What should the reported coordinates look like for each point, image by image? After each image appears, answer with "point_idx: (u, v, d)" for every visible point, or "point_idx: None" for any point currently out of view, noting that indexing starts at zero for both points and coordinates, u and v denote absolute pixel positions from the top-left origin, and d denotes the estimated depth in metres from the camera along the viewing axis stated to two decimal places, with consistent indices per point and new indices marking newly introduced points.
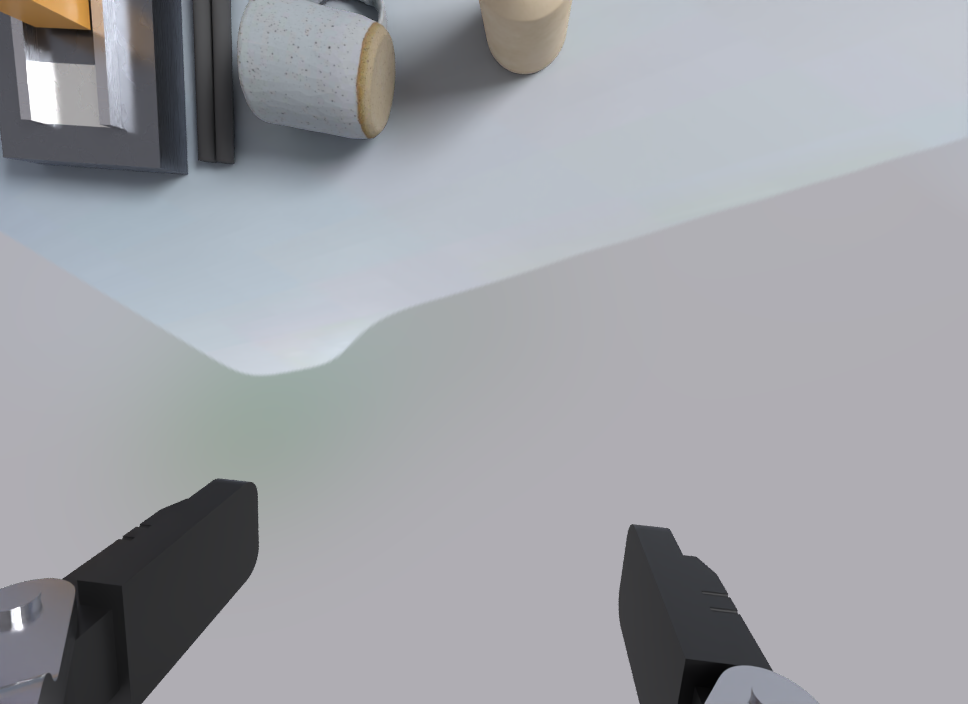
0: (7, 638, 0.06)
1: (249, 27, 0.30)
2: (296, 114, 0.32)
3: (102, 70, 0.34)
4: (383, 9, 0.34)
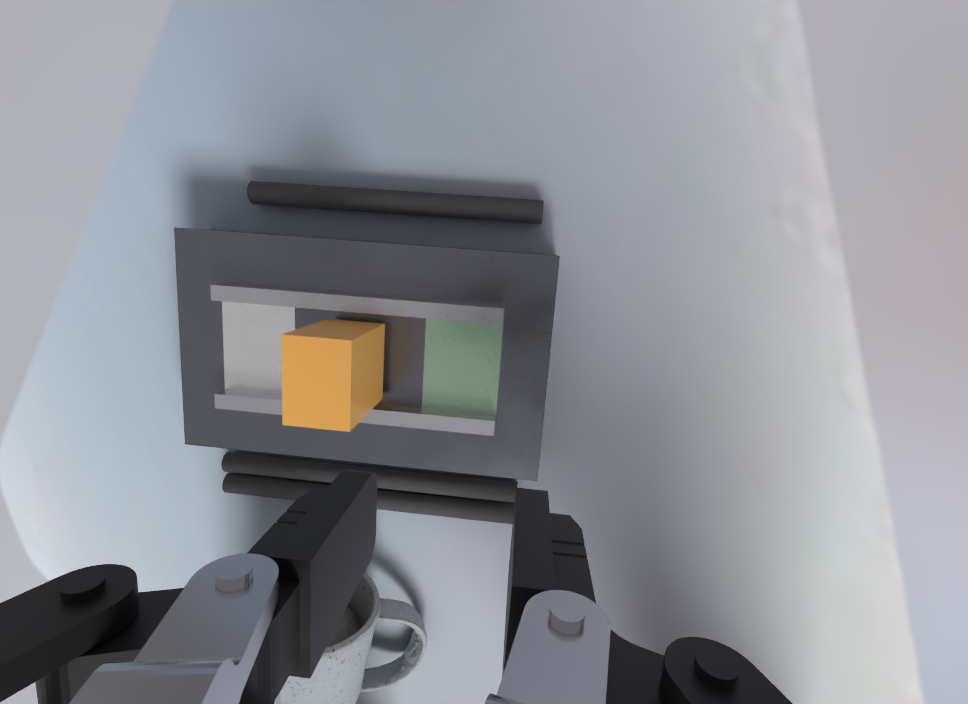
0: (220, 606, 0.07)
1: None
2: None
3: (276, 408, 0.27)
4: None
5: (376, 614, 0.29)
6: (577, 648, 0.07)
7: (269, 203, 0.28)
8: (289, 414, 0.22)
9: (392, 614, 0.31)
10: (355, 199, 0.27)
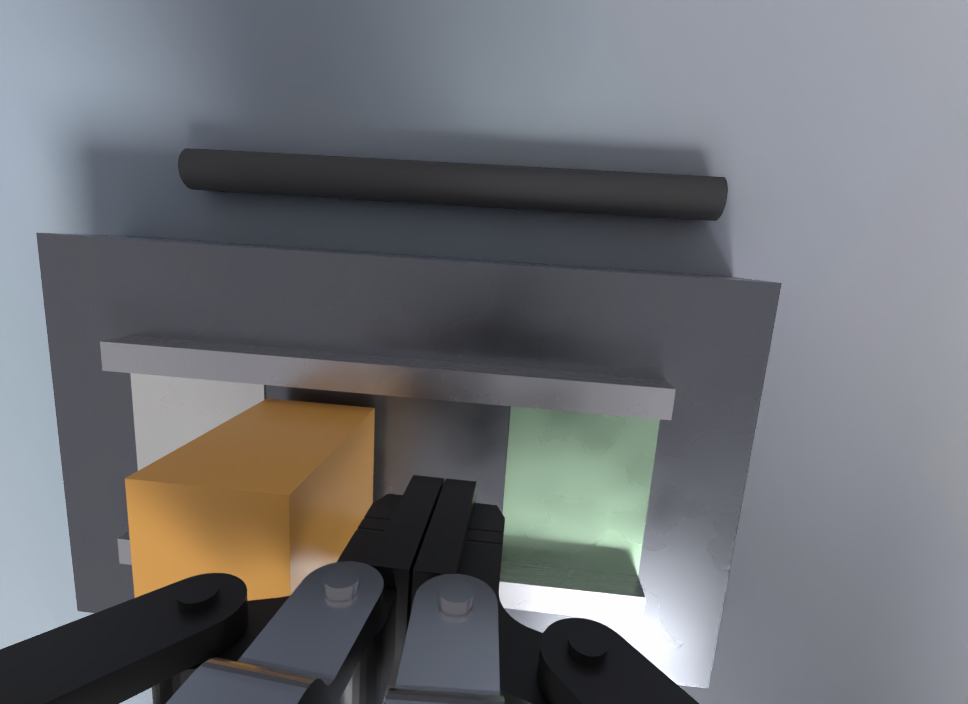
0: (324, 614, 0.07)
1: None
2: None
3: None
4: None
5: None
6: (457, 627, 0.07)
7: (219, 188, 0.16)
8: None
9: None
10: (374, 178, 0.15)
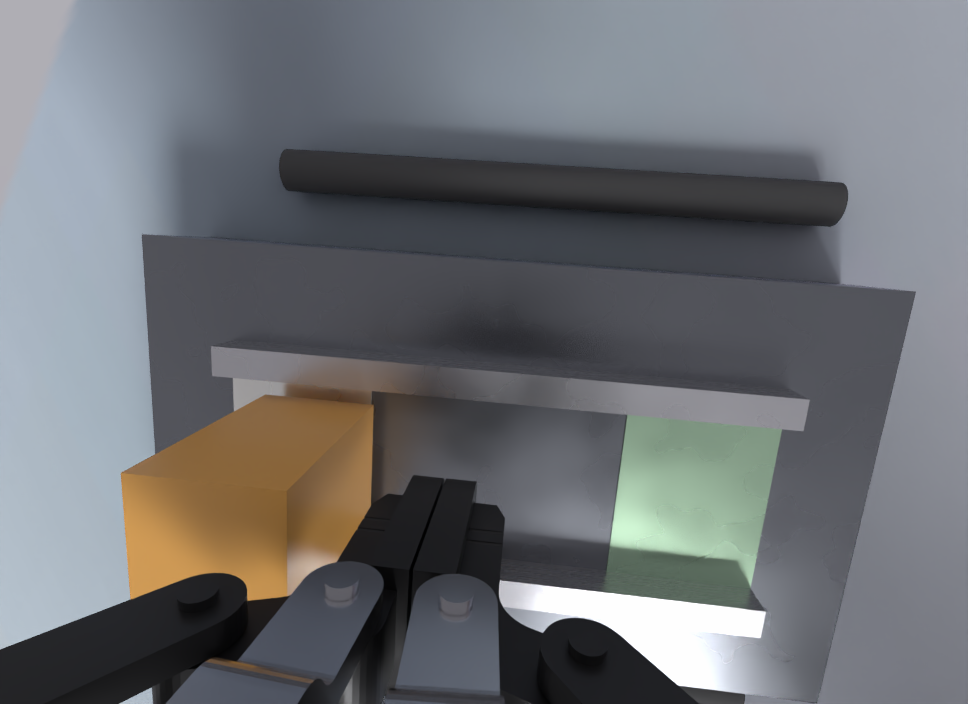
0: (324, 614, 0.07)
1: None
2: None
3: None
4: None
5: None
6: (457, 627, 0.07)
7: (319, 189, 0.15)
8: None
9: None
10: (482, 181, 0.15)
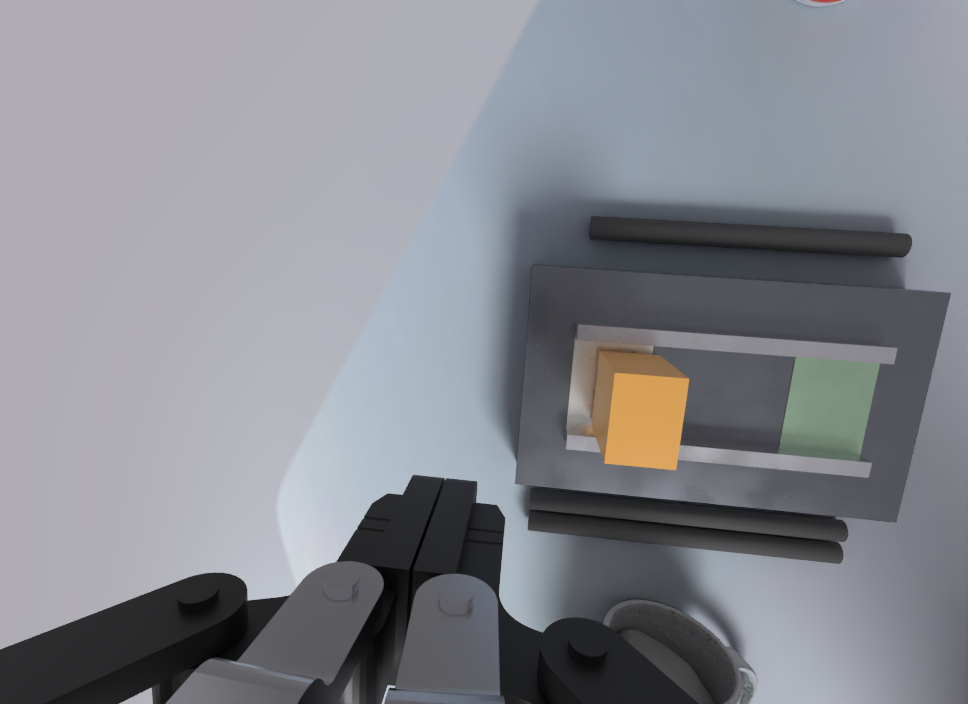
0: (324, 614, 0.07)
1: None
2: None
3: None
4: None
5: (737, 665, 0.28)
6: (458, 628, 0.07)
7: (610, 238, 0.27)
8: (613, 452, 0.22)
9: (736, 663, 0.30)
10: (707, 234, 0.27)
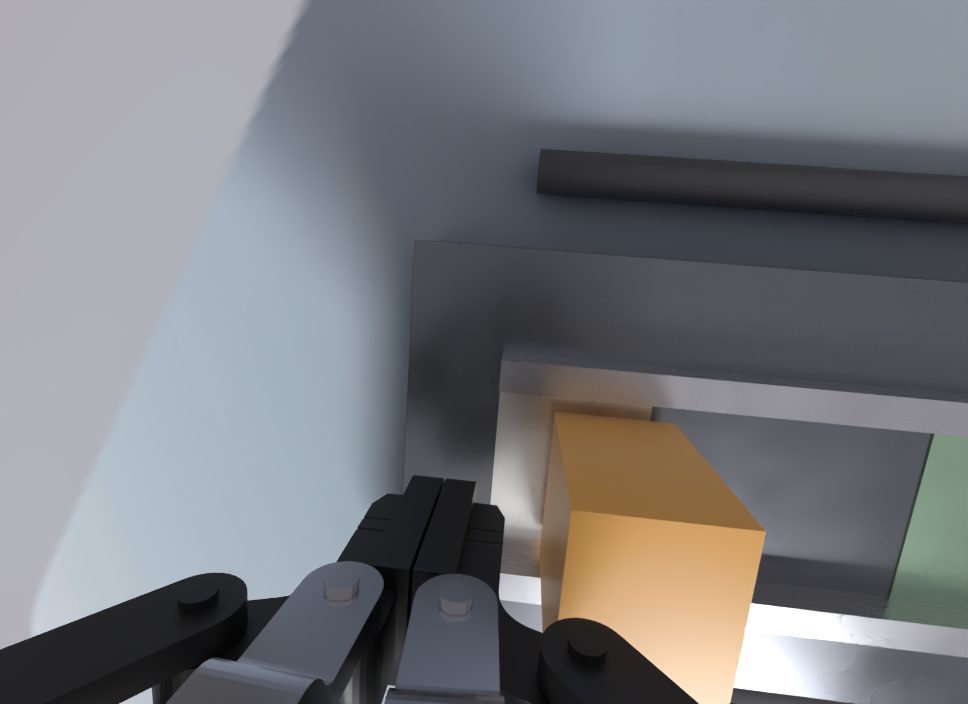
0: (324, 614, 0.07)
1: None
2: None
3: None
4: None
5: None
6: (457, 628, 0.07)
7: (574, 192, 0.14)
8: None
9: None
10: (760, 184, 0.14)
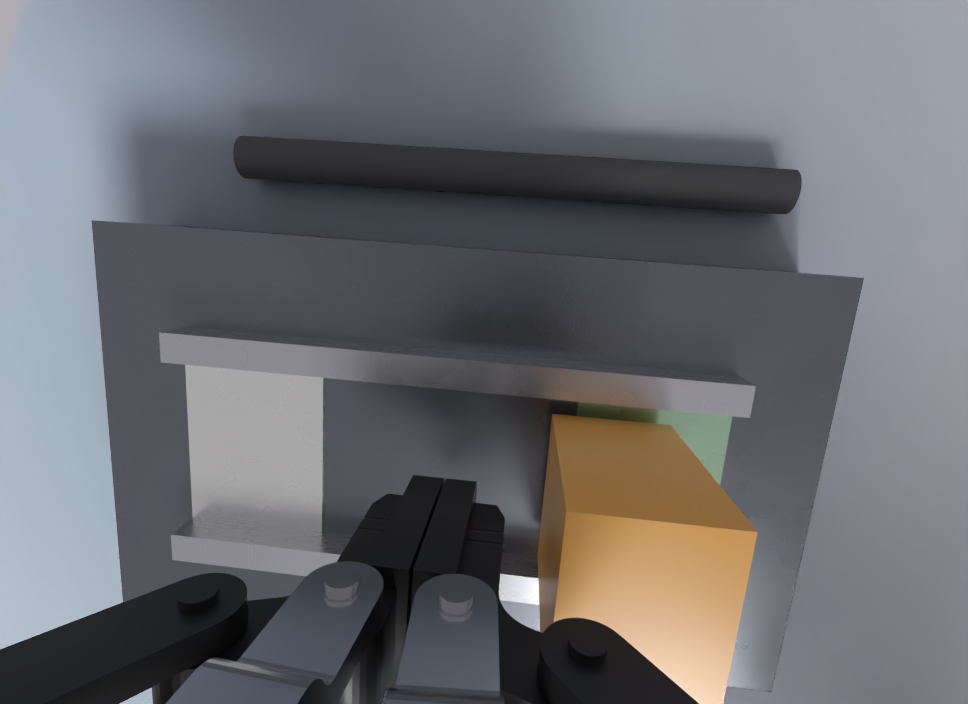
0: (324, 614, 0.07)
1: None
2: None
3: (288, 562, 0.14)
4: None
5: None
6: (457, 627, 0.07)
7: (274, 176, 0.15)
8: None
9: None
10: (436, 168, 0.14)
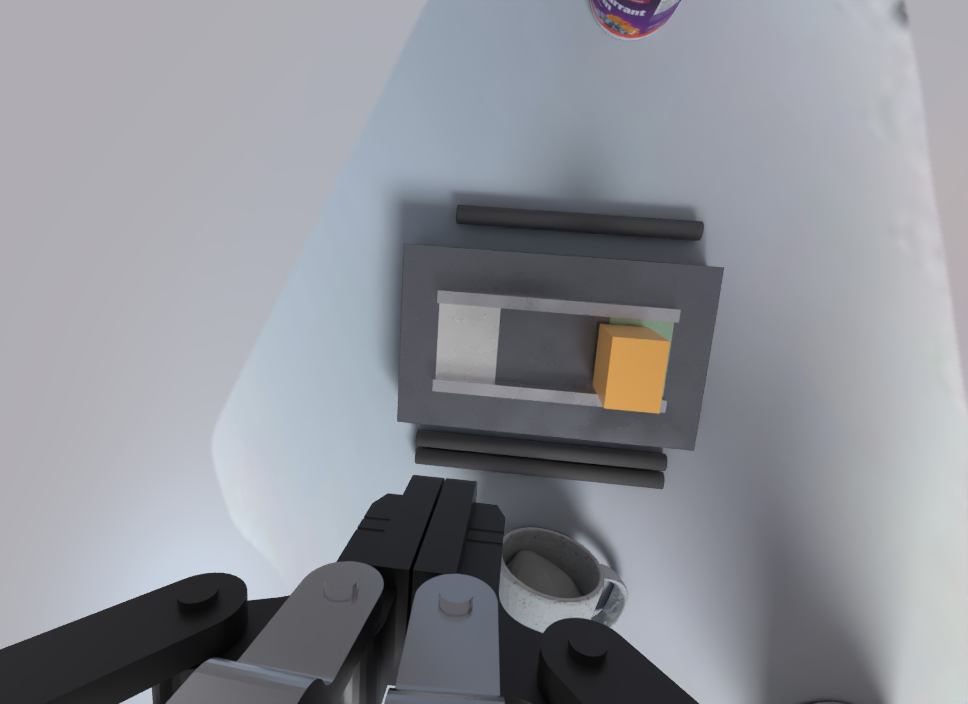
0: (324, 614, 0.07)
1: (559, 610, 0.32)
2: None
3: (484, 390, 0.33)
4: None
5: (603, 573, 0.35)
6: (457, 627, 0.07)
7: (472, 223, 0.34)
8: (610, 399, 0.28)
9: (607, 575, 0.37)
10: (546, 220, 0.33)
